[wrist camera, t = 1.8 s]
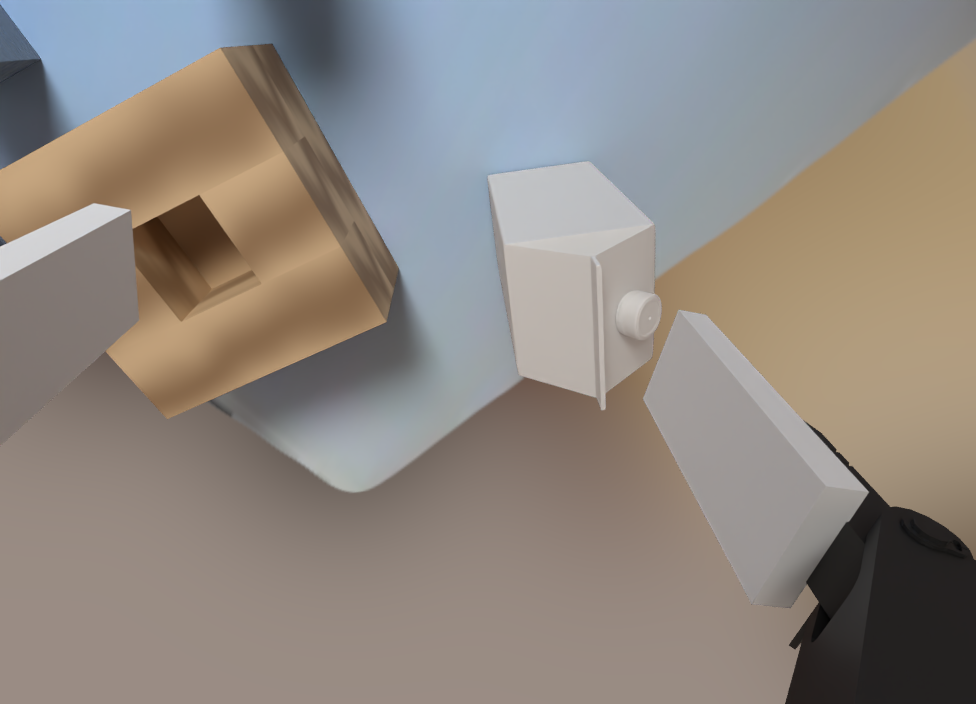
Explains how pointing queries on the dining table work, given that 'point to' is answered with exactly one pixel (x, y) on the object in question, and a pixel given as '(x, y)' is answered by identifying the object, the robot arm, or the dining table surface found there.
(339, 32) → the dining table surface
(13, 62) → the square bit
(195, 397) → the socket block
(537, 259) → the milk carton
